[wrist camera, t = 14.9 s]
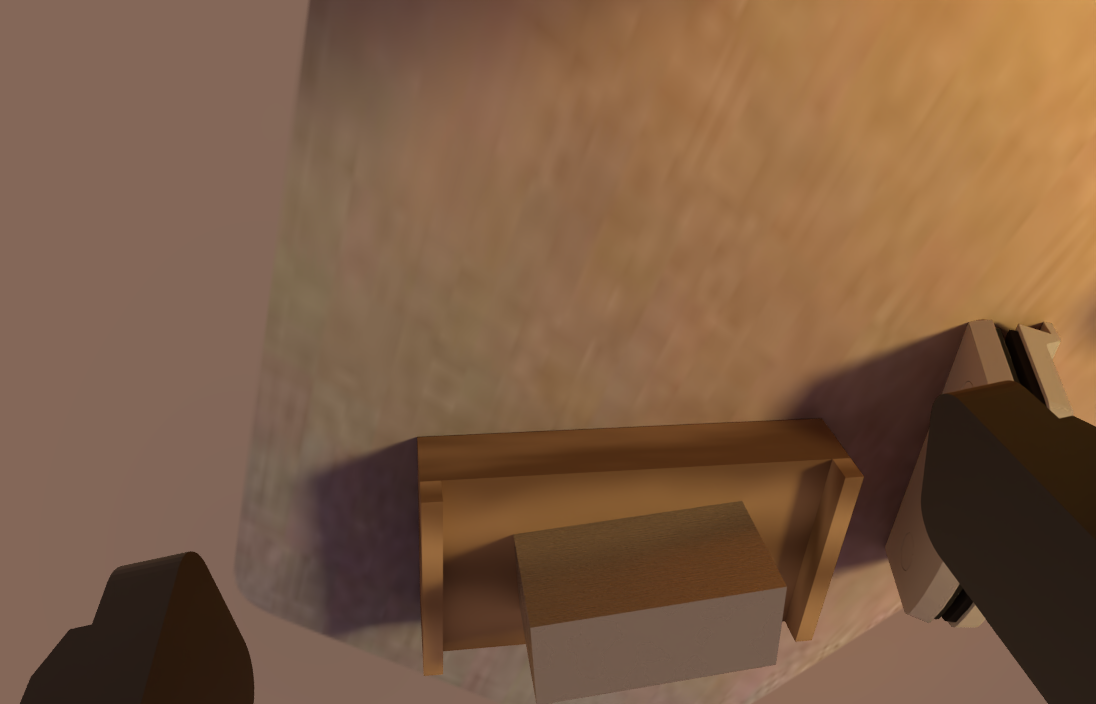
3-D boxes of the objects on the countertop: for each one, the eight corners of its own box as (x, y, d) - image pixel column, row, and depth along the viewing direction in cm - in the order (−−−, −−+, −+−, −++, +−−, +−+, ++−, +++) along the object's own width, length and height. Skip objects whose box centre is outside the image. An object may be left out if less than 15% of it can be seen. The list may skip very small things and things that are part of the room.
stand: (417, 437, 44) (421, 502, 40) (821, 418, 48) (864, 476, 44) (420, 603, 50) (423, 675, 46) (778, 575, 54) (811, 640, 50)
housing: (513, 534, 44) (530, 627, 39) (741, 500, 45) (786, 586, 40) (520, 609, 47) (536, 705, 42) (734, 575, 48) (775, 664, 43)
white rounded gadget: (956, 546, 56) (996, 674, 47) (879, 533, 56) (905, 656, 48) (1054, 316, 47) (1125, 422, 38) (963, 303, 47) (1012, 404, 39)
